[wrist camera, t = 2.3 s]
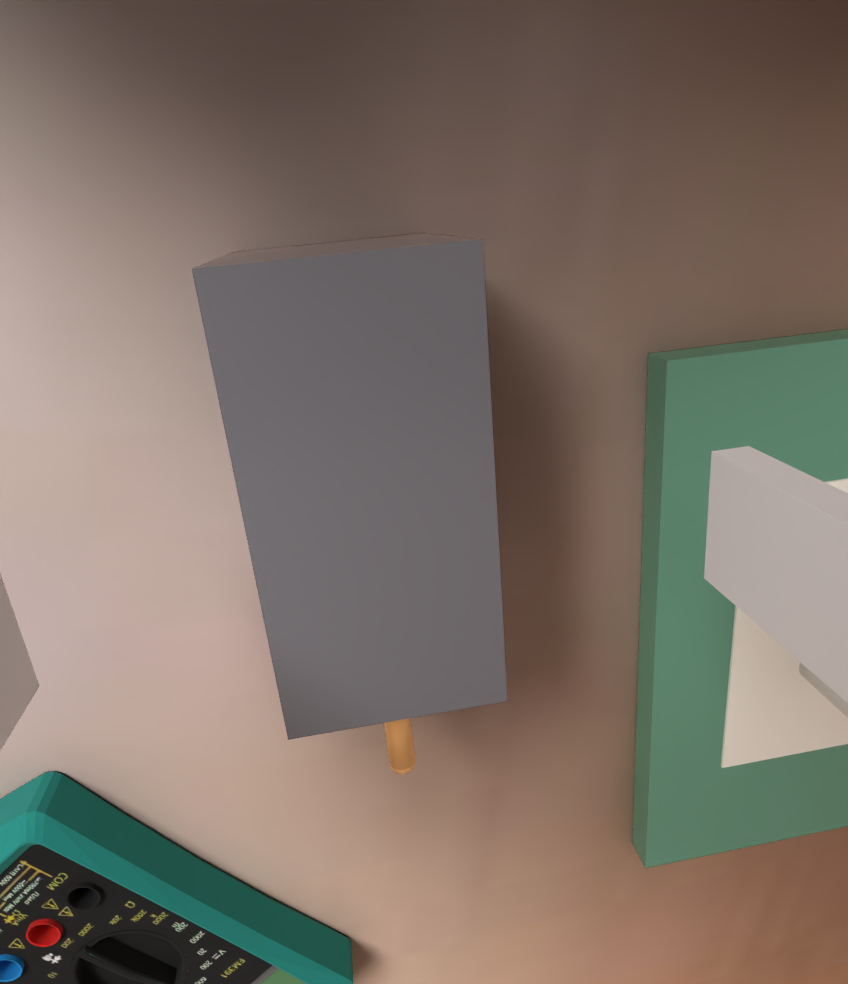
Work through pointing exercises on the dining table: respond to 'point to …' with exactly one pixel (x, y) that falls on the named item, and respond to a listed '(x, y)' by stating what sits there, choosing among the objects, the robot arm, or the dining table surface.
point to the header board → (731, 610)
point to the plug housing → (364, 474)
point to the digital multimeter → (137, 905)
